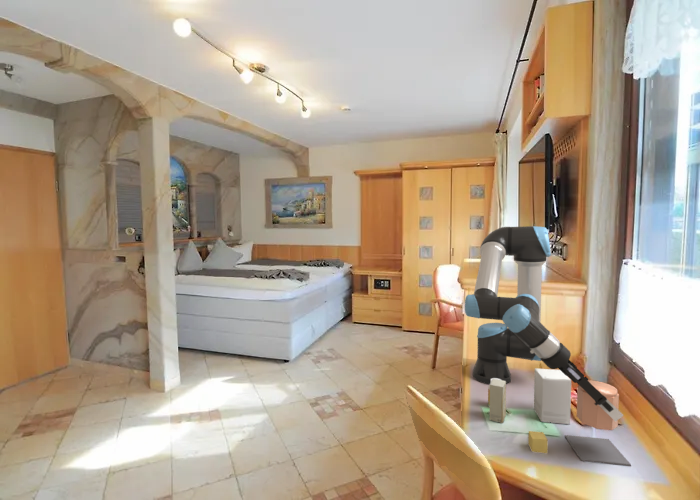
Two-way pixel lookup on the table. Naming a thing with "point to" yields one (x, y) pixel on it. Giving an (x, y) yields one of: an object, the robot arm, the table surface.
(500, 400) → the skincare box
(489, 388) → the supplement bottle
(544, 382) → the supplement box
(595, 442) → the rubber mat
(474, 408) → the table surface
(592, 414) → the peach round canister
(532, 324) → the robot arm
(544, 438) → the mustard block
